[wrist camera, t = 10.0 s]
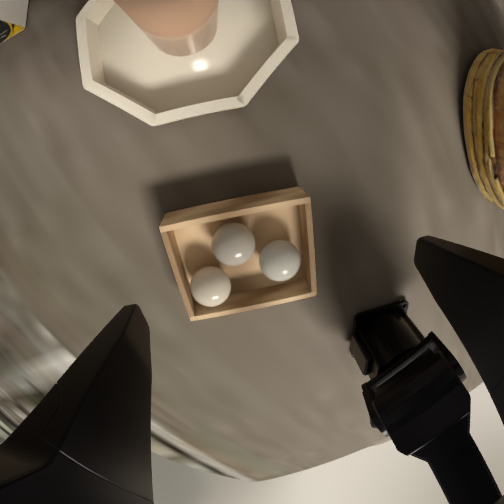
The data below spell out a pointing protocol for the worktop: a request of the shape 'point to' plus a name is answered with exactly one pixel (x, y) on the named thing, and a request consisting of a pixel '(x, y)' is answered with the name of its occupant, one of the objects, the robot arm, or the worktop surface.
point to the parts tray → (249, 274)
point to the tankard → (486, 123)
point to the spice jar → (175, 23)
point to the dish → (183, 60)
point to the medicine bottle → (12, 17)
